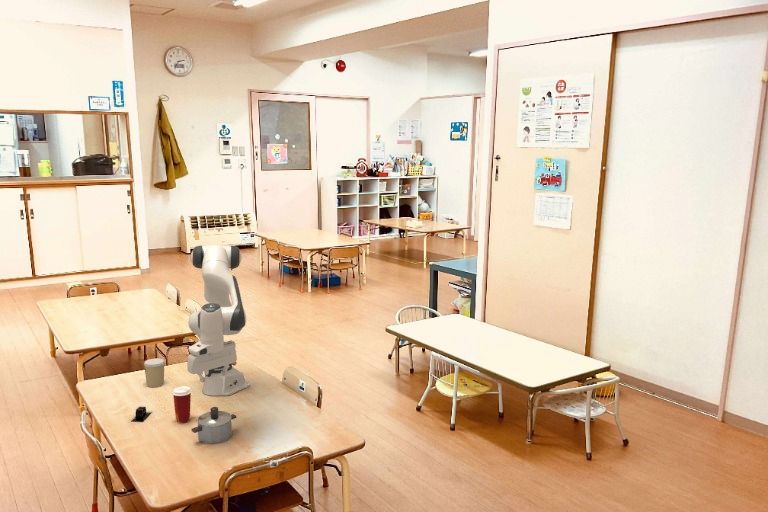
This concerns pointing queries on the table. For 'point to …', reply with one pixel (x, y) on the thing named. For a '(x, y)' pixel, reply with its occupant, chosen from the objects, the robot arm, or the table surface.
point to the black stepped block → (141, 415)
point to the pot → (214, 432)
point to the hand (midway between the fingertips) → (213, 378)
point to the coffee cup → (154, 372)
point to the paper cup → (182, 403)
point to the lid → (214, 418)
